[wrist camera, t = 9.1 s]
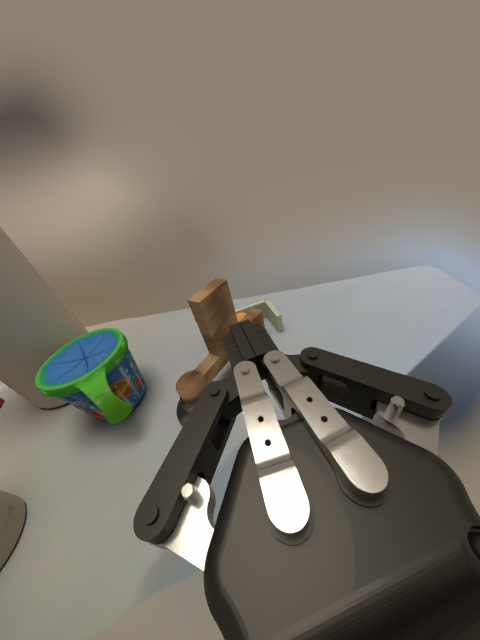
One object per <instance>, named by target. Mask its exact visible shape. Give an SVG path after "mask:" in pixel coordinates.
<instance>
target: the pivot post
mask: <svg viewBox="0 0 480 640" xmlns="http://www.w3.org/2000/svg"><path fill="white" fill-rule="evenodd" d="M211 382H213V381H211ZM211 382H210V383H211ZM194 406H195V404H194V405H189V404H186V403H185V402H184V401H183V400H182V398H181V397H180V400H179V403H178V406H177V417H178V420H179V421H180V423H181V424H182V425H183V426H184V424H185V422H186V421H187V419H188V417H189V415H190V413H191V412H192V410H193V408H194Z"/></svg>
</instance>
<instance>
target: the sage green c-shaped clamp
mask: <svg viewBox="0 0 480 640" xmlns="http://www.w3.org/2000/svg"><path fill="white" fill-rule="evenodd" d="M251 309H256V310H260V311H262V315H263V318H265V317H268V318H269V319H270V321H271V322H272V323H273V325H274V326H275V327H276V329H277V330H278V332H280V331H283V327H282V318H281V314H280V313H279V312H278V310H277V309H276V308H275V307H274V306H273V304H272V303H271V302H270V301H269V300H268V299H265V300H262V301H259V302H256V303H253V304H250V305H248V306H245V307H242V308H239V309H236V310H235V313H236V314H237V313H248V312H249V311H250V310H251Z"/></svg>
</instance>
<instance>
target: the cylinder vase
mask: <svg viewBox="0 0 480 640" xmlns="http://www.w3.org/2000/svg"><path fill="white" fill-rule="evenodd" d="M86 333H88V331H87V330H86V329H85V328H84V327H83V325H82V324H81V323H80V322H79V321H78V319H77V318H76V317H75V316H74V315H73V313H72V312H71V311H70V310H69V309H68V307H67V306H66V305H65V304H64V303H63V301H62V300H61V299H60V298H59V297H58V295H57V294H56V293H55V292H54V291H53V289H52V288H51V287H50V286H49V285H48V284H47V282H46V281H45V280H44V279H43V277H42V276H41V275H40V274H39V273H38V271H36V269H35V268H34V267H33V266H32V264H31V263H30V262H29V261H28V259H27V258H26V257H25V256H24V255H23V254H22V252H21V251H20V250H19V249H18V248H17V246H16V245H15V244H14V243H13V242H12V240H11V239H10V238H9V237H8V236H7V235H6V233H5V232H4V231H3V230H2V228H1V227H0V381H2V382H3V383H4V384H6V385H7V386H9V387H10V388H11V389H13V390H14V391H16V392H17V393H18V394H20V395H21V396H23V397H24V398H26V399H27V400H28V401H30V402H31V403H33V404H34V405H35V406H37V407H40V408H54V407H58V406H61V405H64V404H66V403H68V402H65V401H63V400H62V399H60V398H58V397H49V396H46V395H43V394H42V393H41V390H40V389H38V387H37V386H36V385H35V378H36V374H37V372H38V371H39V369H40V368H41V366H42V365H43V364H44V363H45V362H46V360H47V359H48V358H49V357H50V356H52V355H53V354H54V353H55V352H56V351H57V350H59V349H60V348H62V347H63V346H64V345H66V344H67V343H69V342H71V341H72V340H74V339H76V338H78V337H80V336H82V335H84V334H86Z"/></svg>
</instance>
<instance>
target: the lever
mask: <svg viewBox="0 0 480 640" xmlns="http://www.w3.org/2000/svg"><path fill="white" fill-rule="evenodd" d="M188 303H189V305H190V308H191V310H192V313H193V315H194V317H195V320H196V322H197V324H198V327H199V329H200V332H201V334H202V336H203V339H204V341H205V343H206V346H207V348H208V351H209V355H208V356H207V357H206V358H205V359H204V360H203V361H202V362H201V363H200V364H199V365H198V366H197V368H196V369H195V370H194V371H189V372H187V373H185V374H184V375H182V376H181V377H180V378H179V380H178V381H177V384H176V390H177V392H178V394H179V395H180V397H181V398H182V400H183V401H184V402H185V403H186V404H189V405H194V404H196V403H197V401H198V399H199V397H200V395H201V394H202V392H203V390H204V388H205V387H206V386H207V385H208V384H210V382H211V381H212V380H213V379H214V378H215V376H216V375H217V374H218V373H219V372H220V370H221V369H222V368H223V367H224V366H225V364H226V363H227V362H228V361H229V358H228V355H227V352H226V349H225V346H224V342H223V338H224V335H225V334H228V333H230V329H229V325H232V324H235V323H239V322H241V321H244V320H247V319H249V320H250V322H251V323H252V325H254V324H257V323H258V324H260V325H262V326H263V327H264V328H265V326H264V321H263V315H262V311H260V310H256V309H251V310H250V311H249V312H248V313H247V314H246V315H245V316H244V317H243V318H242V319H241V320H240V321H239V322H238V320H237V316H236V313H235V309H234V305H233V302H232V299H231V294H230V291H229V287H228V284H227V280H224V279H217V278H215V279H214V280H213V281H211V282H210V283H209V284H207V285H206V286H205V287H204V288H202V289H201V290H200V291H198V292H197V293H196V294H195V295H193V296H192V297H191V298H190V299H188Z"/></svg>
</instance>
